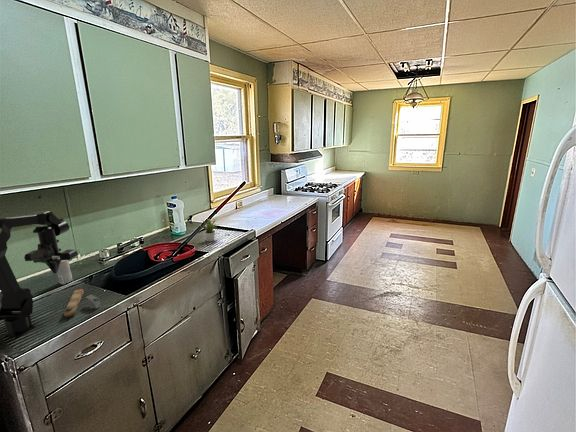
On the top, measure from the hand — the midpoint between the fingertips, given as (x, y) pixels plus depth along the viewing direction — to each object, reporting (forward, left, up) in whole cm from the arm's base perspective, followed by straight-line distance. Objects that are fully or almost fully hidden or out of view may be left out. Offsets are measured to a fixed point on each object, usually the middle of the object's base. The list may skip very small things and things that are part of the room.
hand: (55, 273), depth 132 cm
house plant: (+87, -31, -13) cm, 93 cm away
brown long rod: (-3, -11, -12) cm, 17 cm away
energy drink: (+14, +13, -13) cm, 23 cm away
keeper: (-2, -19, -13) cm, 23 cm away
